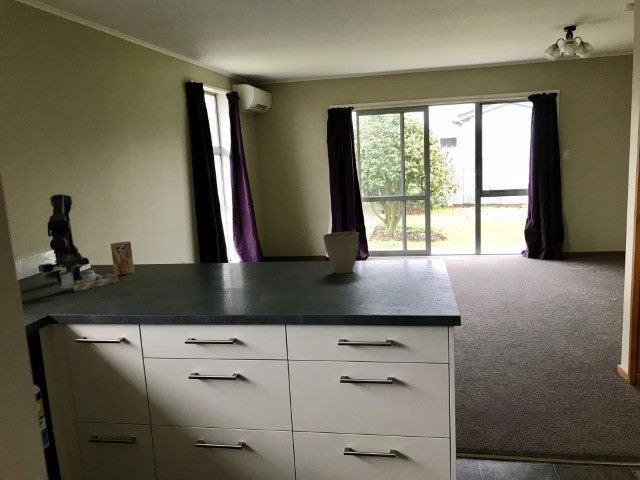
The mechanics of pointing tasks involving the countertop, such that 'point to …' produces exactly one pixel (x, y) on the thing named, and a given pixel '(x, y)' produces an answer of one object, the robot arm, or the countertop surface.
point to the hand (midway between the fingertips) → (67, 284)
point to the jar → (66, 279)
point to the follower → (98, 277)
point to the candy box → (122, 258)
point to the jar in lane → (88, 276)
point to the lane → (95, 282)
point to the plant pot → (342, 250)
